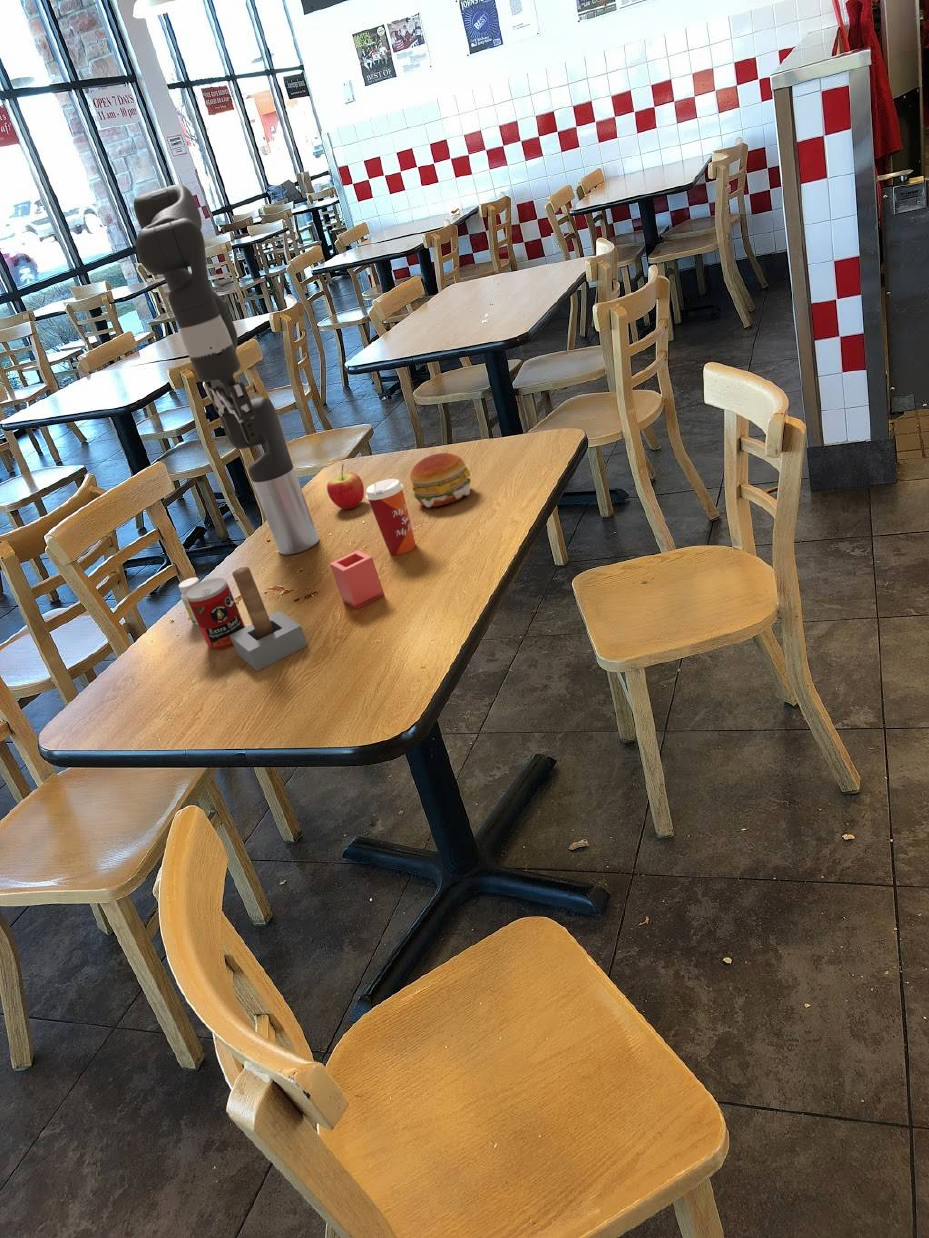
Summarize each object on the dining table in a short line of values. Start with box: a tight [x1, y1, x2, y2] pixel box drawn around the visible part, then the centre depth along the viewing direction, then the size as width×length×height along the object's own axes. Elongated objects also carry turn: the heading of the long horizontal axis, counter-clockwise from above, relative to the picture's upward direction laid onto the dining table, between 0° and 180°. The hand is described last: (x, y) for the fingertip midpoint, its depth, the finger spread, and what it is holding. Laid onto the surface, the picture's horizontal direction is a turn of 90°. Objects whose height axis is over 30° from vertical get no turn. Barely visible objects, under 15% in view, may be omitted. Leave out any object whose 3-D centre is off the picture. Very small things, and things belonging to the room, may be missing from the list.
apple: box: [326, 463, 365, 510], centre depth 231 cm, size 8×8×10 cm
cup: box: [329, 549, 386, 610], centre depth 183 cm, size 6×6×8 cm
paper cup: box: [365, 478, 416, 556], centre depth 199 cm, size 8×8×14 cm
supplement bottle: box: [178, 577, 201, 626], centre depth 194 cm, size 5×5×8 cm
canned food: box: [186, 577, 246, 650], centre depth 182 cm, size 8×8×11 cm
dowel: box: [232, 566, 274, 640], centre depth 172 cm, size 3×3×15 cm
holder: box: [230, 610, 309, 672], centre depth 175 cm, size 10×10×4 cm
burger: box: [409, 452, 471, 508], centre depth 219 cm, size 13×14×10 cm
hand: (244, 437), depth 173 cm, fingers open, 8 cm apart
